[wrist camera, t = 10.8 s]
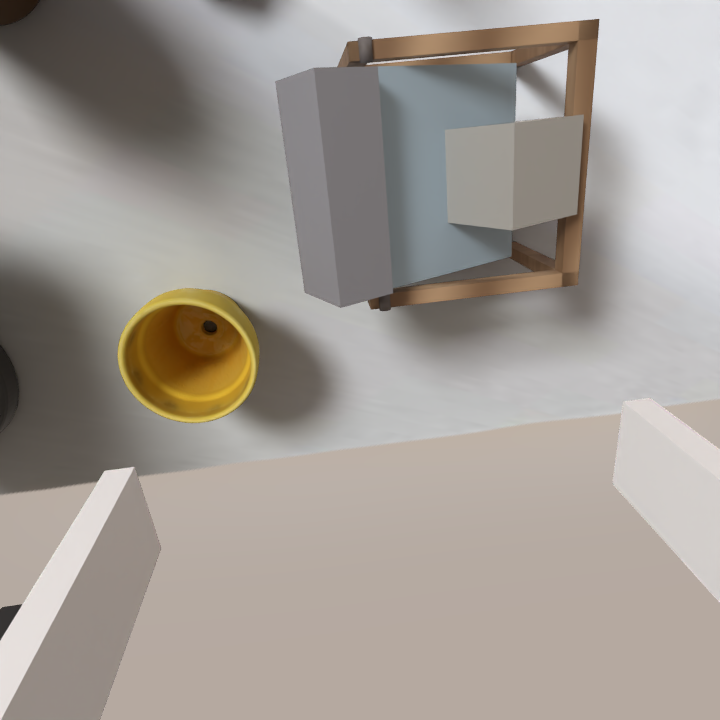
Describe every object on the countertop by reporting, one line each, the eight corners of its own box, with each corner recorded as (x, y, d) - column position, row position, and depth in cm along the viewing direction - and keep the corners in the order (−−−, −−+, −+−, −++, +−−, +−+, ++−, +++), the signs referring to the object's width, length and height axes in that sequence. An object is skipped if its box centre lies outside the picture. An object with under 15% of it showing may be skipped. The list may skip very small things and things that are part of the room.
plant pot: (281, 291, 47) (275, 326, 38) (247, 386, 50) (235, 439, 41) (167, 251, 44) (132, 278, 35) (140, 354, 48) (102, 402, 39)
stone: (447, 222, 36) (512, 230, 31) (444, 129, 33) (514, 122, 29) (508, 208, 39) (577, 214, 34) (510, 122, 36) (584, 114, 31)
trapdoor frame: (355, 271, 47) (371, 312, 35) (336, 68, 40) (348, 38, 29) (514, 253, 48) (580, 287, 36) (520, 50, 41) (603, 15, 30)
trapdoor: (305, 295, 35) (340, 310, 32) (274, 77, 30) (313, 63, 26) (479, 250, 43) (526, 258, 39) (480, 70, 38) (534, 59, 34)
